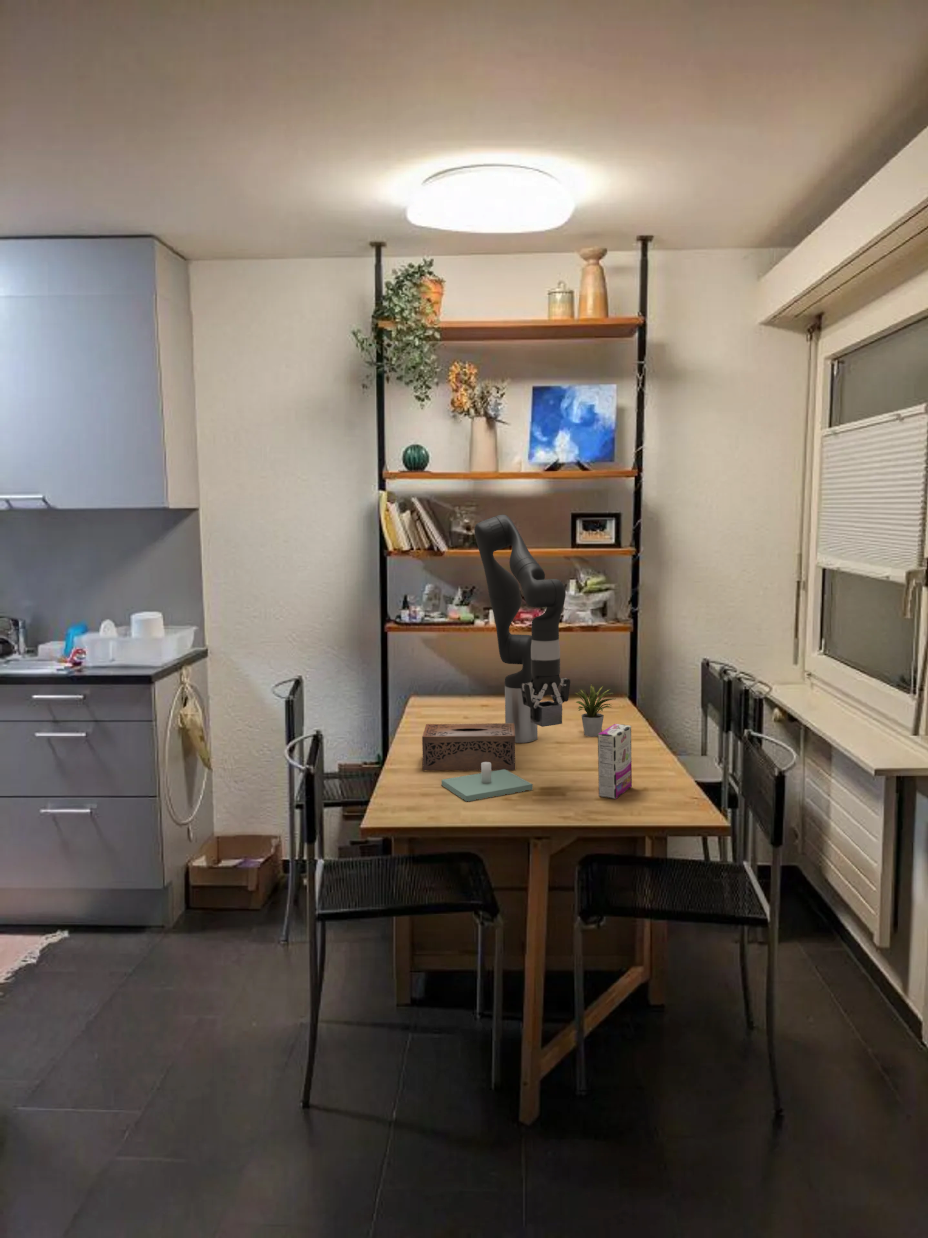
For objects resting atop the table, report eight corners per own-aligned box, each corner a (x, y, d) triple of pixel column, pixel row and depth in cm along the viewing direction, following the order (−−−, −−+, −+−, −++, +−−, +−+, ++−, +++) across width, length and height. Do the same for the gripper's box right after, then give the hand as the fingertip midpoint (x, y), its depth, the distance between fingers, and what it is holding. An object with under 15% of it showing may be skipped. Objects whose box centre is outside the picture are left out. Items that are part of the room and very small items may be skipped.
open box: (550, 719, 232) (549, 700, 232) (562, 723, 227) (562, 705, 226) (530, 721, 230) (530, 703, 229) (542, 726, 224) (542, 707, 224)
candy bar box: (614, 784, 229) (614, 723, 227) (632, 787, 226) (632, 725, 224) (596, 796, 220) (596, 732, 218) (615, 799, 217) (615, 735, 215)
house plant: (593, 744, 268) (593, 691, 266) (560, 735, 278) (559, 685, 276) (622, 735, 277) (623, 684, 275) (589, 727, 288) (589, 679, 286)
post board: (504, 774, 239) (504, 751, 238) (532, 789, 226) (532, 765, 225) (441, 785, 231) (441, 761, 230) (466, 801, 218) (465, 776, 217)
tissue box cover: (422, 771, 244) (422, 736, 243) (427, 757, 258) (426, 724, 257) (515, 771, 243) (515, 736, 242) (514, 756, 257) (514, 723, 256)
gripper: (561, 651, 232) (561, 713, 235) (514, 657, 226) (514, 720, 228) (576, 656, 226) (577, 719, 228) (528, 661, 220) (529, 726, 222)
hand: (546, 719), depth 228 cm, fingers closed on open box, 6 cm apart
